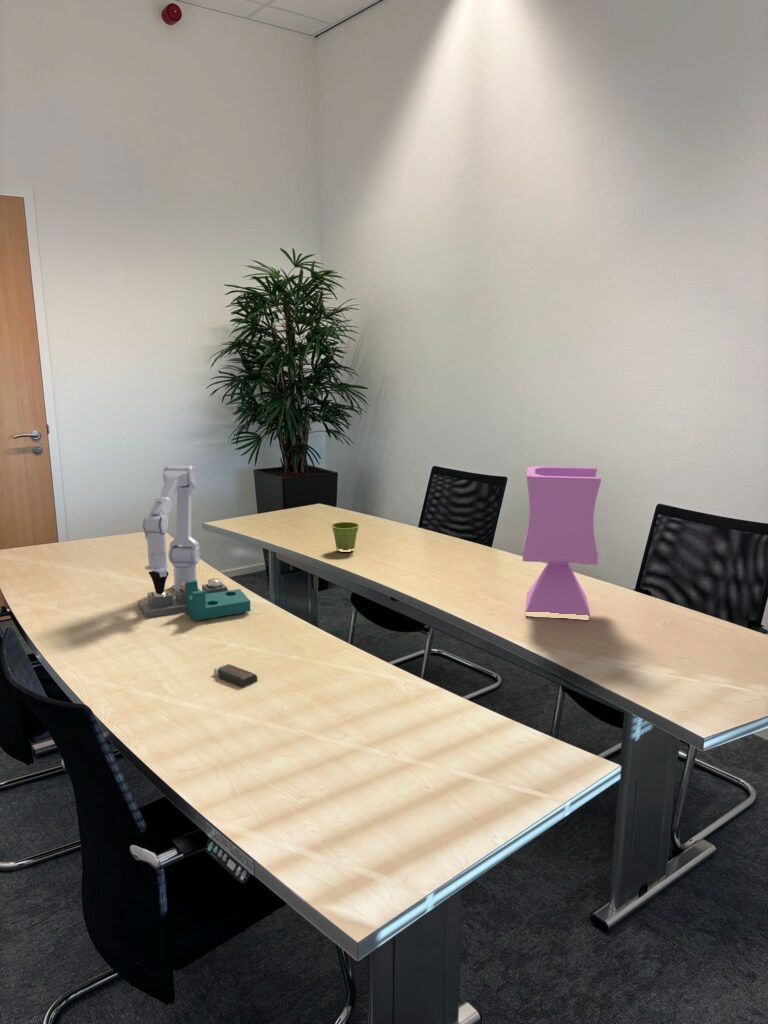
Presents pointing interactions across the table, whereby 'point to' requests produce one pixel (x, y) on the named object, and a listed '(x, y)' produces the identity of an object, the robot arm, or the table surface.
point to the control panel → (171, 601)
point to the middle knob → (183, 587)
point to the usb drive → (235, 675)
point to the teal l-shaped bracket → (213, 602)
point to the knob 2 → (213, 583)
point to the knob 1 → (159, 594)
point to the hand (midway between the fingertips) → (159, 592)
